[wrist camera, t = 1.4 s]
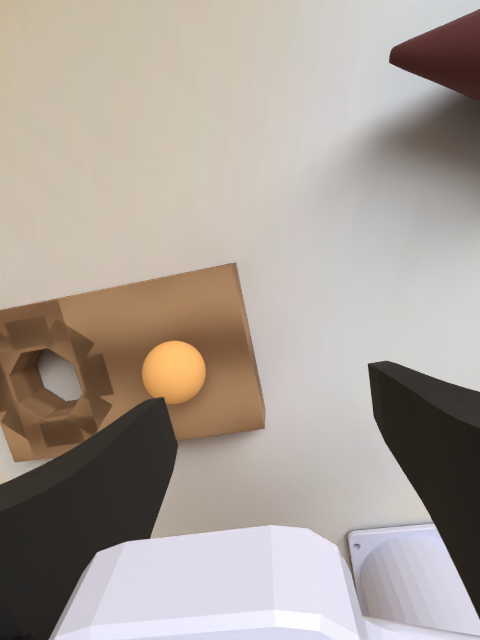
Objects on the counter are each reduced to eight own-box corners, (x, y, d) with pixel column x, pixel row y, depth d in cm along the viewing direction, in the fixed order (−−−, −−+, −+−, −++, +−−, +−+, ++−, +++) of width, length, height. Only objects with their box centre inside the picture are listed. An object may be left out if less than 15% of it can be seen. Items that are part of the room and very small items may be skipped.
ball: (216, 383, 20) (205, 410, 17) (162, 392, 21) (141, 420, 17) (203, 329, 20) (189, 346, 16) (148, 339, 20) (123, 357, 17)
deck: (265, 409, 23) (264, 428, 21) (36, 441, 25) (11, 462, 23) (235, 262, 21) (231, 264, 19) (-9, 311, 23) (-42, 319, 21)
